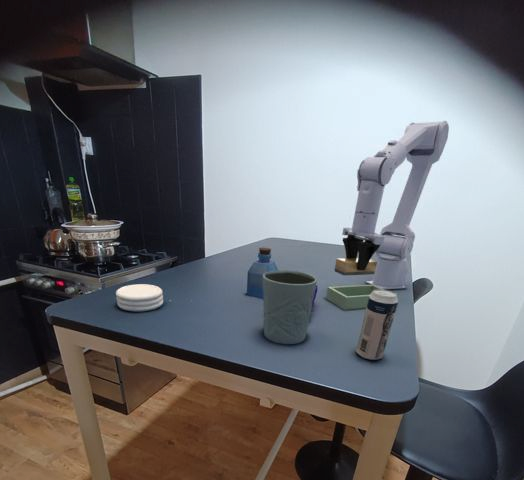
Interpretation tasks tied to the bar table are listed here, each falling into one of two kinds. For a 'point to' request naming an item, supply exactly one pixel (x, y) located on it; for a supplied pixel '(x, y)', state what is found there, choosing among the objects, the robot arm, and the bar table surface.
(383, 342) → the beer can
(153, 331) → the bar table surface
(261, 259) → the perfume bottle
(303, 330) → the green embossed cup
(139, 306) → the coaster
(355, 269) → the eraser
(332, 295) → the eraser holder
